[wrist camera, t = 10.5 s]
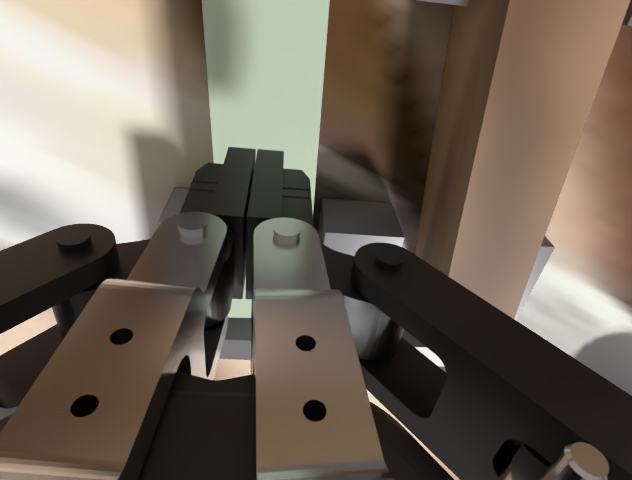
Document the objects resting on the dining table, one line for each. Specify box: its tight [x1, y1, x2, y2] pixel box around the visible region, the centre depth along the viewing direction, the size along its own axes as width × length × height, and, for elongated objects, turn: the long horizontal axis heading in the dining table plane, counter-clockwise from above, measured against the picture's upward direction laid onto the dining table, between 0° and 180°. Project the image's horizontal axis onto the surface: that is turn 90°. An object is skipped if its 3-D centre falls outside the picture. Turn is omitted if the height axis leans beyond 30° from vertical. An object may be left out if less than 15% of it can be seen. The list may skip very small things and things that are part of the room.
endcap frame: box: [158, 0, 632, 366], centre depth 17 cm, size 18×26×3 cm
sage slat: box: [202, 0, 330, 318], centre depth 16 cm, size 4×16×5 cm, turn 176°
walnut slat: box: [415, 0, 630, 319], centre depth 17 cm, size 4×16×5 cm, turn 0°
